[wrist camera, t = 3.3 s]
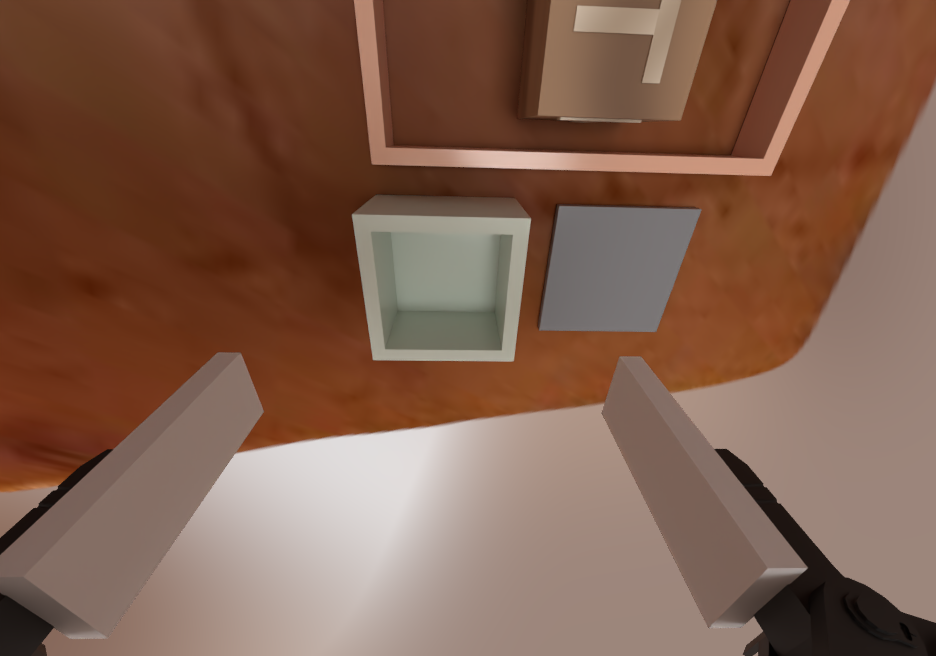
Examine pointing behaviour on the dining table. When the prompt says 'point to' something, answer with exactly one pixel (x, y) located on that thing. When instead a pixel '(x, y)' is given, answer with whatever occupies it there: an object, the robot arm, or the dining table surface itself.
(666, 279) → the slate coaster
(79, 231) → the dining table surface
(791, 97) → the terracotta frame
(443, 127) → the dining table surface
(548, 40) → the letter cube
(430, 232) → the mint green open box
